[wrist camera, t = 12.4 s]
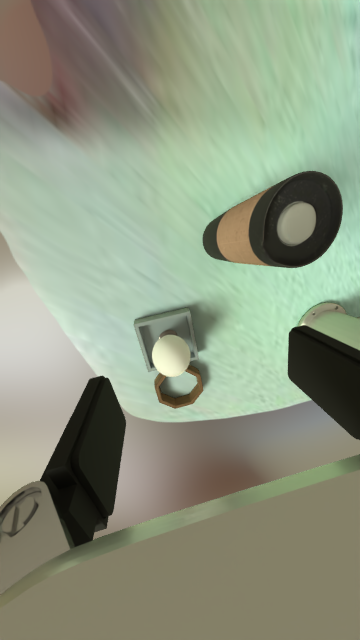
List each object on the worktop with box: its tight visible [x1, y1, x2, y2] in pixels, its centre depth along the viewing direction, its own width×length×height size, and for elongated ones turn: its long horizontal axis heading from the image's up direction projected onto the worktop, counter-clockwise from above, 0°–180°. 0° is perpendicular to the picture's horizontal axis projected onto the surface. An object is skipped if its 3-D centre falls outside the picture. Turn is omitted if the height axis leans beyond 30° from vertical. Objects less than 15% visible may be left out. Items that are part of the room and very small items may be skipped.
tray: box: [134, 308, 199, 372], centre depth 38 cm, size 11×11×3 cm
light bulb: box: [152, 330, 190, 377], centre depth 34 cm, size 7×7×11 cm
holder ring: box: [155, 365, 203, 408], centre depth 43 cm, size 10×10×2 cm
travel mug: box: [203, 171, 343, 268], centre depth 25 cm, size 8×8×20 cm
